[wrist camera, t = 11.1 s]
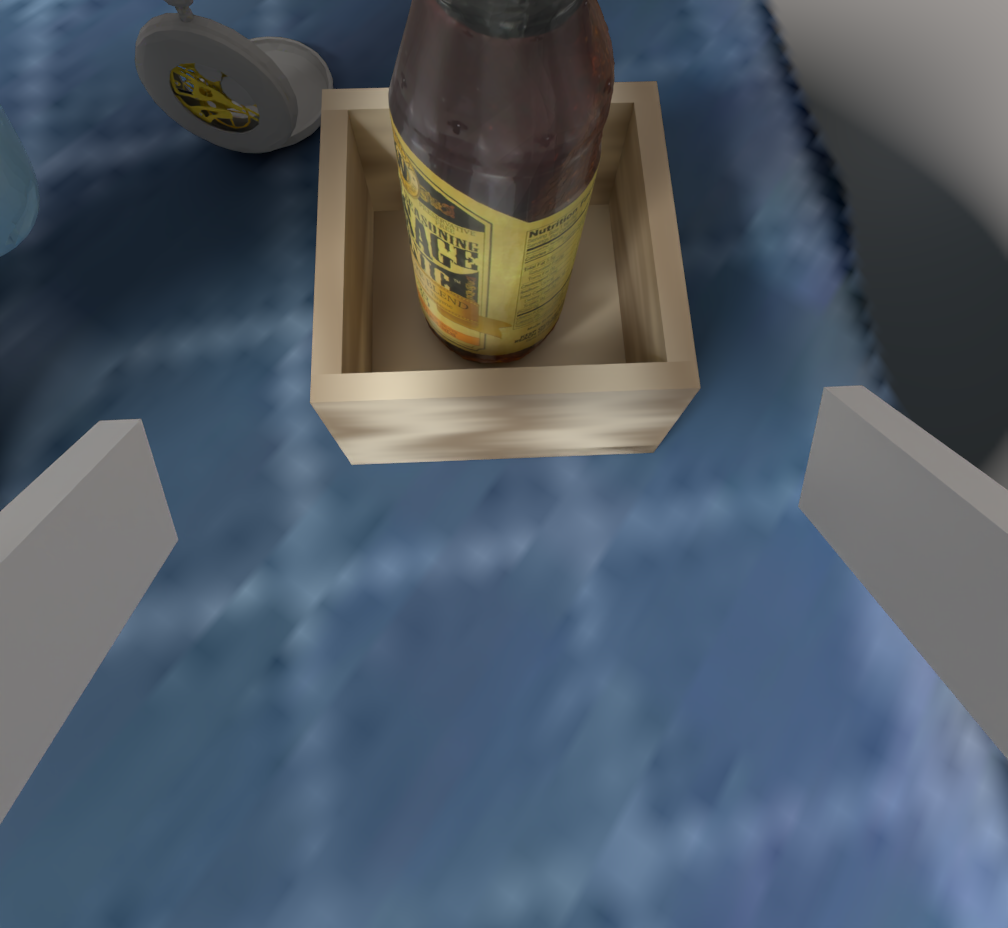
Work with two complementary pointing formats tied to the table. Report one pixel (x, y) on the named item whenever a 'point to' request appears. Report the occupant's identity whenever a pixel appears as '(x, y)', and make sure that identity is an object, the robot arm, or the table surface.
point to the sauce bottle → (498, 161)
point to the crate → (540, 374)
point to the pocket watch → (231, 81)
